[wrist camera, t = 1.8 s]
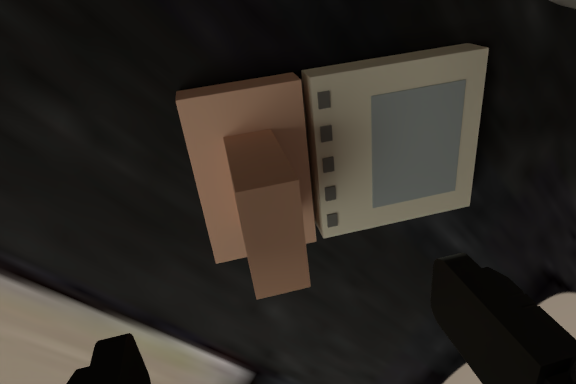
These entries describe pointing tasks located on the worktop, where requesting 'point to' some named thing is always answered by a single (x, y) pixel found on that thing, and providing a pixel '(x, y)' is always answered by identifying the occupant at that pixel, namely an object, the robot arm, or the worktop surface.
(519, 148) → the worktop surface
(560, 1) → the donut
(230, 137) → the stub
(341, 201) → the control panel
